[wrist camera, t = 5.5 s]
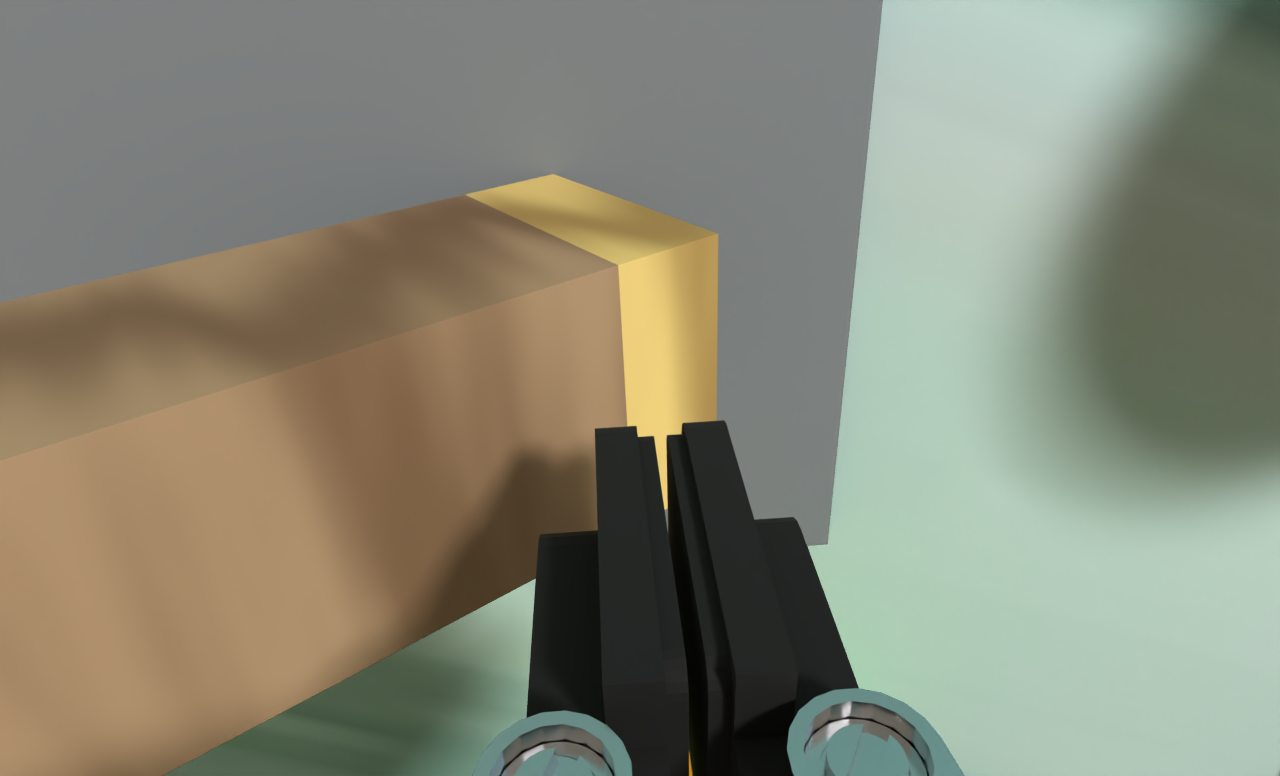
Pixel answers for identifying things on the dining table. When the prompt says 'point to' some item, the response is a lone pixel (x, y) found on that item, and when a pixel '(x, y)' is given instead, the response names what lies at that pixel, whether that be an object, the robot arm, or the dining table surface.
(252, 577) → the walnut block
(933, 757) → the robot arm
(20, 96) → the rubber mat
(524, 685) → the dining table surface
